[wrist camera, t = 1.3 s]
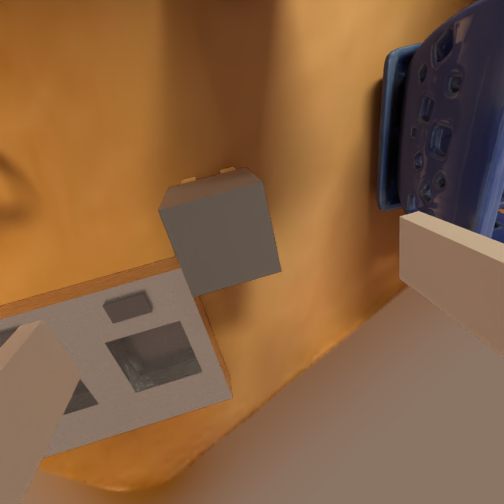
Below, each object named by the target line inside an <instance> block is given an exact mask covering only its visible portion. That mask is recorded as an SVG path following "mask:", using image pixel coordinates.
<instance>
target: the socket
mask: <svg viewBox="0 0 504 504" xmlns="http://www.w3.org/2000/svg"><path fill="white" fill-rule="evenodd" d="M42 319H43V321H44V322H45V324H46V325H47V326H48V328H49V329H50V331H51V332H52V333H53V335H54V336H55V338H56V339H57V340H58V342H59V343H60V345H61V346H62V347H63V349H64V350H65V352H66V353H67V354H68V356H69V357H70V359H71V360H72V361H73V363H74V364H75V366H76V367H77V368H78V370H79V371H80V373H81V374H82V376H81V378H80V380H79V382H78V384H77V386H76V388H75V390H74V392H73V395H72V397H71V399H70V401H69V403H68V405H67V407H66V409H65V412H64V414H63V416H62V418H61V420H60V422H59V424H58V426H57V429H56V431H55V433H54V435H53V437H52V439H51V441H50V443H49V445H48V448H47V450H46V452H45V454H44V456H43V458H45V457H48V456H51V455H55V454H58V453H61V452H64V451H67V450H70V449H73V448H77V447H80V446H83V445H86V444H89V443H92V442H96V441H99V440H102V439H105V438H108V437H111V436H115V435H118V434H121V433H124V432H127V431H130V430H133V429H137V428H140V427H143V426H146V425H149V424H152V423H156V422H159V421H162V420H165V419H168V418H171V417H174V416H178V415H181V414H184V413H187V412H190V411H193V410H197V409H200V408H203V407H206V406H209V405H212V404H215V403H219V402H222V401H225V400H228V399H231V398H233V395H232V387H231V379H230V376H229V373H228V371H227V368H226V365H225V363H224V360H223V358H222V355H221V352H220V350H219V347H218V345H217V342H216V339H215V337H214V334H213V331H212V329H211V326H210V324H209V321H208V318H207V316H206V313H205V311H204V308H203V305H202V303H201V300H200V298H199V296H196V297H192V295H191V292H190V290H189V287H188V285H187V282H186V279H185V277H184V274H183V272H182V269H181V267H180V264H179V262H178V259H177V257H172V258H169V259H165V260H161V261H158V262H154V263H151V264H147V265H144V266H140V267H137V268H133V269H130V270H126V271H122V272H119V273H115V274H112V275H108V276H105V277H101V278H98V279H94V280H91V281H87V282H84V283H80V284H76V285H73V286H69V287H66V288H62V289H59V290H55V291H52V292H48V293H45V294H41V295H37V296H34V297H30V298H27V299H23V300H20V301H16V302H13V303H9V304H6V305H2V306H0V348H1V346H2V345H3V344H4V343H5V342H6V341H7V340H8V339H9V338H10V336H11V335H12V334H13V333H14V332H15V331H16V330H17V329H18V328H19V326H22V325H25V324H29V323H32V322H35V321H39V320H42Z"/></svg>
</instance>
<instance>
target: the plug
mask: <svg viewBox="0 0 504 504" xmlns="http://www.w3.org/2000/svg"><path fill="white" fill-rule="evenodd" d="M220 173H221V174H217V175H213V176H210V177H206V178H202V179H198V180H197V179H196V176H195V177H191V178H188V179H184V180H182V181H181V184H180V185H176V186H172V187H168V189H167V192H166V194H165V196H164V198H163V201H162V203H161V205H160V207H159V209H158V211H159V214H160V216H161V219H162V222H163V224H164V227H165V229H166V232H167V234H168V237H169V239H170V242H171V244H172V247H173V249H174V252H175V254H176V257H177V259H178V262H179V264H180V267H181V269H182V272H183V274H184V277H185V279H186V282H187V285H188V287H189V290H190V292H191V295H192V297H196V296H199V295H203V294H206V293H210V292H213V291H216V290H220V289H223V288H227V287H230V286H234V285H237V284H240V283H244V282H247V281H251V280H254V279H257V278H261V277H264V276H268V275H271V274H275V273H278V272H281V266H280V262H279V257H278V252H277V247H276V242H275V238H274V233H273V228H272V223H271V218H270V213H269V209H268V204H267V199H266V194H265V189H264V185H263V181H261V180H260V179H259V178H258V177H257V176H256V175H255V174H254V173H253V172H252V171H250V170H249V169H248V168H247V167H243V168H239V169H235V168H234V167H229V168H225V169H221V170H220Z"/></svg>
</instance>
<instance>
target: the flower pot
mask: <svg viewBox="0 0 504 504" xmlns="http://www.w3.org/2000/svg"><path fill="white" fill-rule="evenodd" d="M377 204H378V207H379V209H380V210H383V211H387V210H393V209H398V208H403V210H404V212H405V214H406V215H407V214H410V213H414V212H417V211H420V212H422V213H425V214H428V215H430V216H433V217H436V218H438V219H441V220H443V221H446V222H449V223H451V224H454V225H456V226H459V227H462V228H464V229H467V230H470V231H472V232H475V233H477V234H480V235H483V236H485V237H488V238H490V239H493V240H496V241H498V242H501V243H504V214H503V213H501V212H499V211H498V209H504V0H478V1H476V2H474V3H473V4H471V5H469V6H468V7H466V8H465V9H463V10H461V11H460V12H458V13H457V14H455V15H454V16H452V17H451V18H450V19H448V20H447V21H446V22H445V23H443V24H442V25H441V26H440V27H439V28H437V29H436V30H435V31H434V32H433V33H432V34H431V35H430V36H429V37H428V38H427V39H426V40H425V41H424V42H423V43H419V44H415V45H410V46H405V47H401V48H398V49H395V50H393V51H391V52H390V53H389V54H388V55H387V57H386V60H385V64H384V73H383V86H382V101H381V115H380V130H379V150H378V178H377Z"/></svg>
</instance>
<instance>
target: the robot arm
mask: <svg viewBox="0 0 504 504" xmlns="http://www.w3.org/2000/svg"><path fill="white" fill-rule="evenodd" d="M399 279H400V280H402V281H403V282H404V283H406V284H407V285H408V286H410V287H411V288H412V289H413V290H415V291H416V292H418V293H419V294H420V295H421V296H423V297H424V298H425V299H427V300H428V301H429V302H431V303H432V304H433V305H435V306H436V307H437V308H439V309H440V310H441V311H443V312H444V313H445V314H447V315H448V316H449V317H450V318H452V319H453V320H454V321H456V322H457V323H458V324H460V325H461V326H462V327H464V328H465V329H466V330H468V331H469V332H470V333H472V334H473V335H474V336H476V337H477V338H478V339H480V340H481V341H482V342H483V343H485V344H486V345H488V346H489V347H490V348H491V349H493V350H494V351H496V352H497V353H498V354H499V355H501V356H502V357H503V358H504V243H501V242H498V241H496V240H493V239H490V238H488V237H485V236H483V235H480V234H477V233H475V232H472V231H470V230H467V229H464V228H462V227H459V226H456V225H454V224H451V223H449V222H446V221H443V220H441V219H438V218H436V217H433V216H430V215H428V214H425V213H422V212H420V211H417V212H414V213H410V214H407V215H403V216H400V230H399ZM81 376H82V374H81V373H80V371H79V370H78V368H77V367H76V366H75V364H74V363H73V361H72V360H71V359H70V357H69V356H68V354H67V353H66V352H65V350H64V349H63V347H62V346H61V345H60V343H59V342H58V340H57V339H56V338H55V336H54V335H53V333H52V332H51V331H50V329H49V328H48V326H47V325H46V324H45V322H44V321H43V319H42V320H39V321H35V322H32V323H29V324H25V325H22V326H19V328H18V329H17V330H16V331H15V332H14V333H13V334H12V335H11V336H10V338H9V339H8V340H7V341H6V342H5V343H4V344H3V345H2V346H1V348H0V504H21V503H22V501H23V498H24V496H25V494H26V492H27V490H28V488H29V486H30V484H31V481H32V479H33V477H34V475H35V473H36V471H37V469H38V467H39V465H40V462H41V460H42V458H43V456H44V454H45V452H46V450H47V448H48V445H49V443H50V441H51V439H52V437H53V435H54V433H55V431H56V429H57V426H58V424H59V422H60V420H61V418H62V416H63V414H64V412H65V409H66V407H67V405H68V403H69V401H70V399H71V397H72V395H73V392H74V390H75V388H76V386H77V384H78V382H79V380H80V378H81Z"/></svg>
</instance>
